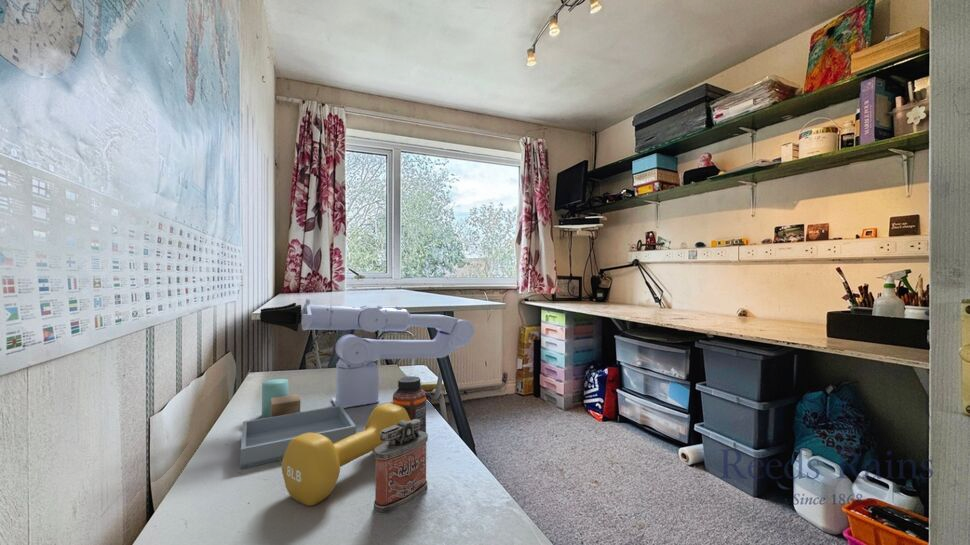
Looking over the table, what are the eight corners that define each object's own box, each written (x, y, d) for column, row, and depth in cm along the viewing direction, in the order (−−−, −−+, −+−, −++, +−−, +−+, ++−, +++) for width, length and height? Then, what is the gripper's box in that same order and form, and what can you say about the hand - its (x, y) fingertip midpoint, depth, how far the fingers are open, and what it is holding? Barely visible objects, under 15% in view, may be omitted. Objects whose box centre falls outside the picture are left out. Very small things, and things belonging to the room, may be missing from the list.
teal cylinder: (287, 408, 83) (287, 377, 84) (288, 415, 79) (289, 383, 79) (261, 413, 81) (262, 380, 81) (261, 420, 76) (262, 386, 77)
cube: (297, 417, 78) (298, 394, 78) (300, 425, 74) (300, 400, 74) (270, 422, 76) (270, 397, 76) (271, 430, 71) (271, 404, 71)
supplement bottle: (429, 435, 69) (430, 374, 69) (421, 449, 63) (421, 383, 63) (398, 434, 70) (399, 374, 70) (387, 448, 64) (387, 382, 64)
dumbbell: (381, 443, 66) (381, 397, 66) (419, 456, 61) (419, 406, 61) (273, 495, 50) (274, 435, 50) (314, 518, 45) (315, 451, 45)
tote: (341, 419, 77) (341, 405, 77) (355, 443, 66) (355, 426, 66) (242, 438, 68) (243, 421, 68) (240, 469, 57) (240, 449, 57)
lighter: (416, 480, 53) (417, 411, 54) (432, 489, 51) (433, 416, 51) (368, 507, 47) (368, 428, 47) (383, 518, 45) (384, 435, 45)
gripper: (325, 299, 92) (262, 295, 85) (335, 301, 80) (263, 297, 73) (322, 327, 92) (258, 326, 84) (332, 334, 79) (259, 333, 72)
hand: (260, 315), depth 78 cm, fingers open, 7 cm apart
